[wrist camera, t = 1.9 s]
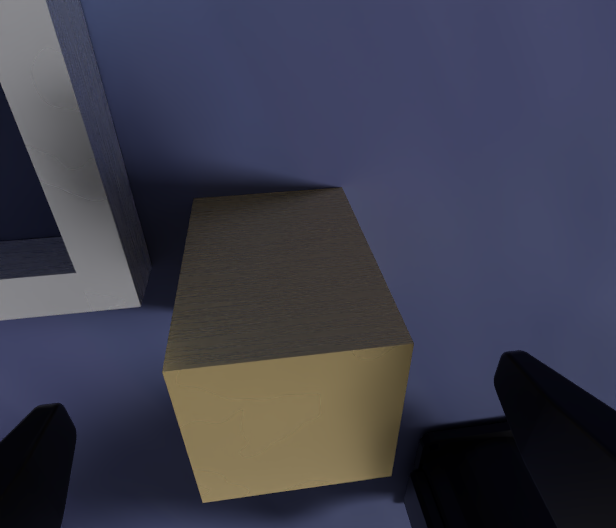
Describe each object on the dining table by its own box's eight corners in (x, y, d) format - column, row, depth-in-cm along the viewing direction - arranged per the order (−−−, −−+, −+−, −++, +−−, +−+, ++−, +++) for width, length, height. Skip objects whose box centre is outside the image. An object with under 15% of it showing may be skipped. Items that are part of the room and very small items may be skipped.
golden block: (341, 187, 12) (413, 343, 7) (338, 299, 14) (391, 476, 9) (193, 198, 12) (162, 371, 7) (214, 312, 14) (202, 503, 9)
